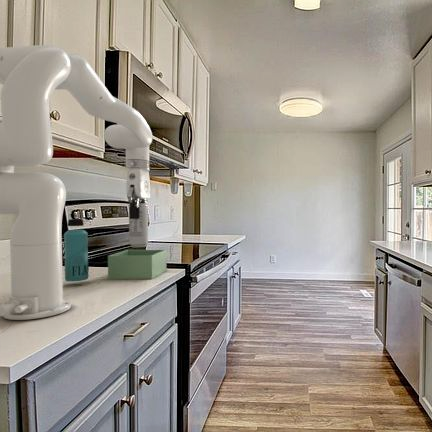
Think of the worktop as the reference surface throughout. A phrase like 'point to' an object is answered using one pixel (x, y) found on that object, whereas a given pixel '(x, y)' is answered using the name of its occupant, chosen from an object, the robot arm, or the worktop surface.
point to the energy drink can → (139, 228)
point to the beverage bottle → (76, 252)
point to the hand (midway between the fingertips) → (138, 217)
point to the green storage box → (137, 264)
